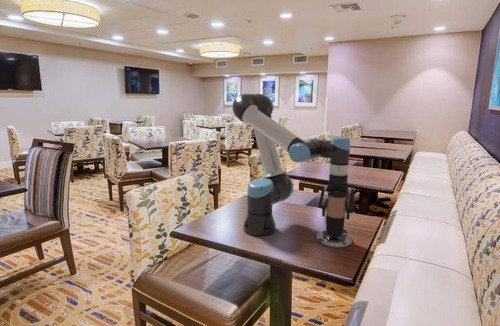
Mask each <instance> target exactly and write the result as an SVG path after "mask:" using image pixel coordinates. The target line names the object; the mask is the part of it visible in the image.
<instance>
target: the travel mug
mask: <svg viewBox="0 0 500 326" xmlns="http://www.w3.org/2000/svg"><path fill="white" fill-rule="evenodd" d="M327 189H328V188H327ZM327 192H328V193H327V198H328V205H327V207H326V208H327V216H326V225H325V231H326V234H327V235H329V236H332V237H340V236H342V235H343V233H344V228H345V227H344V219H345V211H346V208H345V199H346V200H347V191H345V192H339V191H335V192H333V191H330V190H329V189H328V191H327Z"/></svg>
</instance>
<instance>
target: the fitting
mask: <svg viewBox="0 0 500 326" xmlns="http://www.w3.org/2000/svg"><path fill="white" fill-rule="evenodd" d="M316 240H317V242H318V243H320V244H321V245H322V246H326V247H328V248H334V249H344V248H348V247H349V246H351V245H352V241H353V239H352V237H351V236H350V235H348V233H346V232H343V235H342V236H340V237H332V236H329V235H327V234H326V229H325V230H322V231H319V232H318V233H317V234H316Z"/></svg>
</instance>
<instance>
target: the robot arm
mask: <svg viewBox="0 0 500 326" xmlns="http://www.w3.org/2000/svg"><path fill="white" fill-rule="evenodd" d="M231 107H232V112H233V114H234V116H235V117H236V118H237V119H238V120H239V121H240V122H242V123H243V124H245V125H250V126H251V127H252V128H253V132H254V136H255V139H256V144H257V148H258V153H259V157H260V160H261V164H262V169H263V172H264V174H263V176H262V178H256V179H253V180H251V181H249V182H248V184H247V190H246V193H247V195H246V197H247V201H246V203H247V204H246V205H247V208H246V209H247V213H246V216H245V219H244V222H243V232H244V233H246V234H247V235H250V236H257V237H266V236H270V235H273V234H274V233H276V228H277V227H276V222H275V219H274V215H273V205H275V204H277V203H280V202H283V201H286V200H287V199H288V198H290V197H291V196H292V194H293V192H294V183H293V180H292V179H291V178H290V177H289V176H288V175H287V173H286V171H285V170H284V169H282V166H281V161H280V157H279V154H278V150H277V146H279V147H280V148H282V149H283V150H284V151H286V152H287V153H288V157H289V158H290V160H291V162H295V163H303V162H307V161H309V160H313V159H317V158H324V159H330V160H329V174H328V175H329V176H328V183H327V184H326V185H324V184H322V185H321V187H320V189H321V190H320V191H321V193H320V197H319V201H318V206H317V208H319V209H321V210H322V211H321V215H322V217H323V219H324V220H323V225H325V226H326V216H327V205H328V197H327V198H326V199H325V202H324V203H323V200H324V196H325V192H326V191H327V189H329V190H330V191H333V192H335V191H339V192H345V191H346V192H348V193H349V199H350V205H349V203H348V199H347V198H346V199H345V219H344V228H346V226H347V220H349V219H350V213H352V212H353V213H354V212H355V201H354V200H355V199H354V193H355V188H354V187H350V186H348V176H349V175H348V174H349V167H350V163H349V162H350V151H351V139H350V137H347V136H332V138H331V140H325V139H317V138H308V139H306V141H305V140H303V139H301V137H298V136H297V135H296V134H295V133H293V132H292V131H290V130H288V128H285V127H284V126H283V125H281V124H280V123H278V122H277V121H275V120H274V119H273V117H272V114H273V111H274V103H273V100H272V99H271V98H270V97H269V96H268V95H266V94H262V93H242V94H240V95H238V96H236V98H235V99H234V100H233V102H232V106H231ZM276 145H277V146H276Z"/></svg>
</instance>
